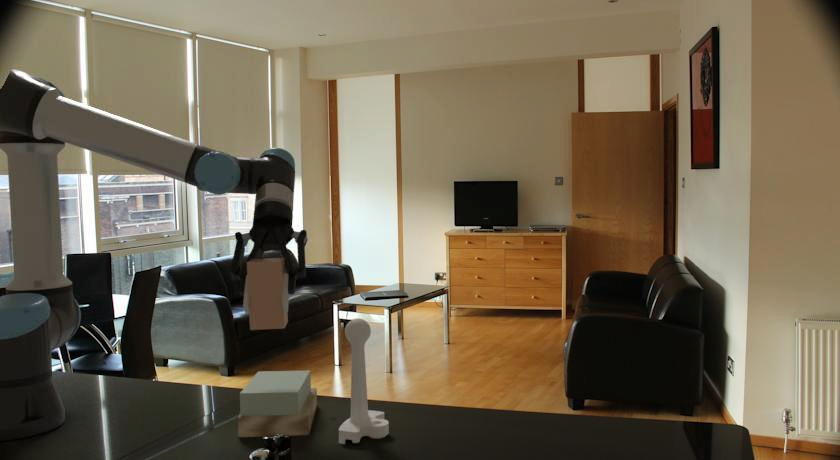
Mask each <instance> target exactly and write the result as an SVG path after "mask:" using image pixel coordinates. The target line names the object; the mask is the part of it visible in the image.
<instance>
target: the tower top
mask: <svg viewBox="0 0 840 460" xmlns="http://www.w3.org/2000/svg"><path fill="white" fill-rule="evenodd" d="M311 376H312V375H311V370H277V371H276V370H272V371H270V370H267V371H257V372H256V373H255V375H254V376H253V377H252V378H251V379H250V381H249V382H247V383H246V385H245V386H244V388H243V389H241V391H240V392H239V408H240V409H239V410H240V411H239V415H240V416H277V415H299V413H300V411H301V410H302V408H303V406H304V404H305V402H306V400H307V398H308V396H309V394H310V392H311V388H312V384H311V380H312V378H311Z"/></svg>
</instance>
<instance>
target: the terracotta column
mask: <svg viewBox="0 0 840 460" xmlns="http://www.w3.org/2000/svg"><path fill="white" fill-rule="evenodd" d="M284 274H287V271H286V266H285V258H282V257H270V258H269V257H267V258H260V259H251V260H250V261H248V262H247V278H248V294H249V313H248V315H249V316H248V317H249V330H250V331H259V330H282V329H285V328H286V326H287V324H288V323H289V318H288V317H289V315H288V313H289V311H288V312H284V310H283V305H282V297H283V281H284Z"/></svg>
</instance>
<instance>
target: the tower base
mask: <svg viewBox="0 0 840 460" xmlns="http://www.w3.org/2000/svg"><path fill="white" fill-rule="evenodd" d="M317 390H318V389H317V387H315V388H312V387H311V392H310V394H309V396H308V398H307V400H306V402H305V404H304V406H303V408H302V410H301V411H300V413H299V415H277V416H240V414H238V417H237V432H238V433H237V436H238V438H249V437H250V438H256V437H257V438H258V437H259V438H260V437H272V436H271V435H276V434H285V435H289V436H309V435H310V432H311V429H312V425H313V422H314V418H315V414H316V412H317V409H318V408H317V407H318V397H317V396H318V395H317ZM289 436H288V437H289Z"/></svg>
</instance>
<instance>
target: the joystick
mask: <svg viewBox="0 0 840 460" xmlns="http://www.w3.org/2000/svg"><path fill="white" fill-rule="evenodd" d="M371 332H372V329H371V325H370V323H369V322H367V321H366V320H365V319H363V318H352V319H351V320H349V321H348V322H347V323H346V325H345V328H344V335H345V338H346V340H347V341H348V342H349V343H350V346H351V371H350V372H351V373H350V374H351V376H350V417H349V418H347V419H346V420H345V421H344V422H343V423H341V424H340V426H339V428H338V444H340V445H346V443H347V440H350V441H352V443H353V444H357V443H358V444H359V443H360V442H361V439H362V438H363V437H368V438H369V439H374V440H375V439H383V438H385V437H387V436H388V435H389V433H390V430H389V429H390V427H389V426H390V422H389V420H387V419H385V411H378V410H370V409H369V407H368V406H369V404H368V403H369V402H368V389H367V388H368V387H367V371H366V369H367V368H366V355H365V354H366V353H365V351H366V350H365V346H366V342H367V341H368V340H369V339H370V336H371V334H372V333H371Z"/></svg>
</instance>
